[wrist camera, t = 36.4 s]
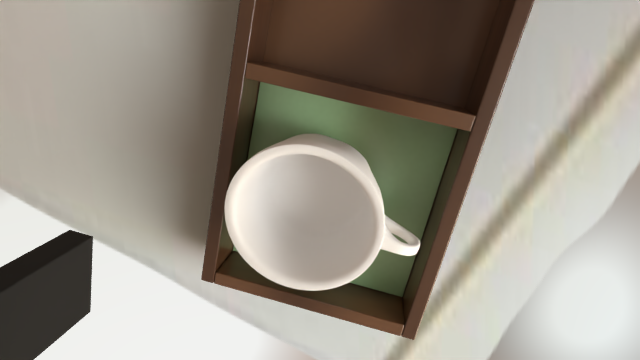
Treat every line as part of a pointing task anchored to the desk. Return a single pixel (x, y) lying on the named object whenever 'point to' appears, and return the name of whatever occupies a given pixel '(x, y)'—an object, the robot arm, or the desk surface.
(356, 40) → the wooden compartment tray
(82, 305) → the robot arm
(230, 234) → the teacup
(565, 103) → the desk surface
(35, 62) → the desk surface
